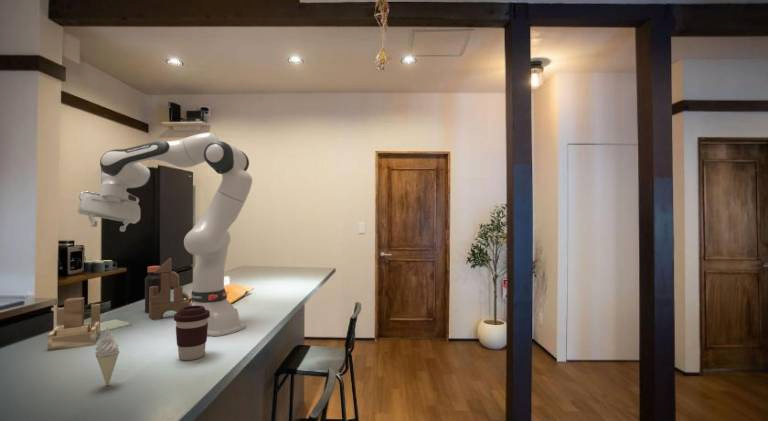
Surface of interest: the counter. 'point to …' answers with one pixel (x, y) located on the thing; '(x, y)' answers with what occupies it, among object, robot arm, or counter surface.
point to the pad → (112, 325)
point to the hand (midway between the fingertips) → (108, 228)
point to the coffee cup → (191, 331)
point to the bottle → (151, 284)
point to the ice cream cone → (107, 355)
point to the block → (73, 313)
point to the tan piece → (75, 332)
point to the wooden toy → (166, 293)
